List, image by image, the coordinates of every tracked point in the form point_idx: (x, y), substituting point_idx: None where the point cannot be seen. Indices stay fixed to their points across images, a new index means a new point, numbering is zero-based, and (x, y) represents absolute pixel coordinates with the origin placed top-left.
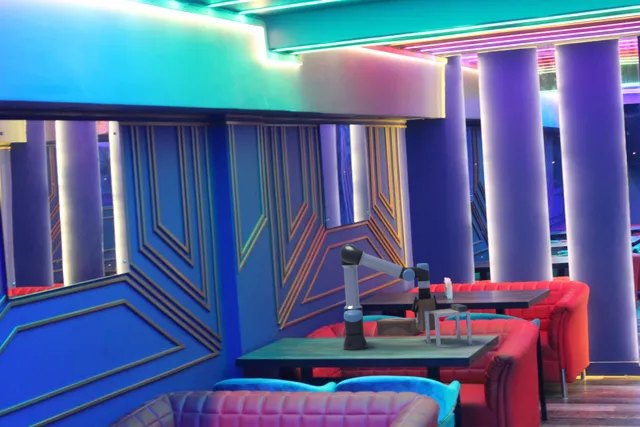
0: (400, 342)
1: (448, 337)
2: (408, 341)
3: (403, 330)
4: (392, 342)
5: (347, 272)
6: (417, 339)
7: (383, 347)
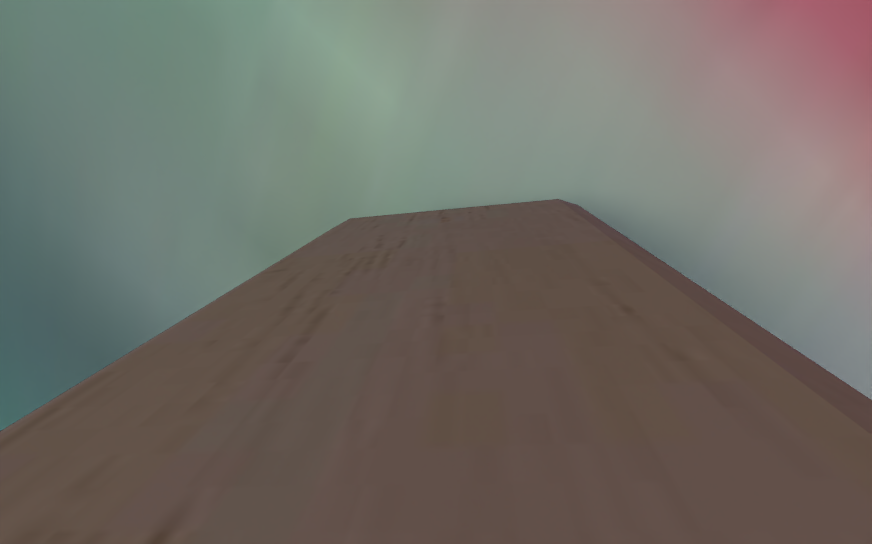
0: (191, 210)
1: (751, 261)
2: (278, 207)
3: None
4: (116, 149)
5: None
6: (404, 143)
7: (17, 361)
